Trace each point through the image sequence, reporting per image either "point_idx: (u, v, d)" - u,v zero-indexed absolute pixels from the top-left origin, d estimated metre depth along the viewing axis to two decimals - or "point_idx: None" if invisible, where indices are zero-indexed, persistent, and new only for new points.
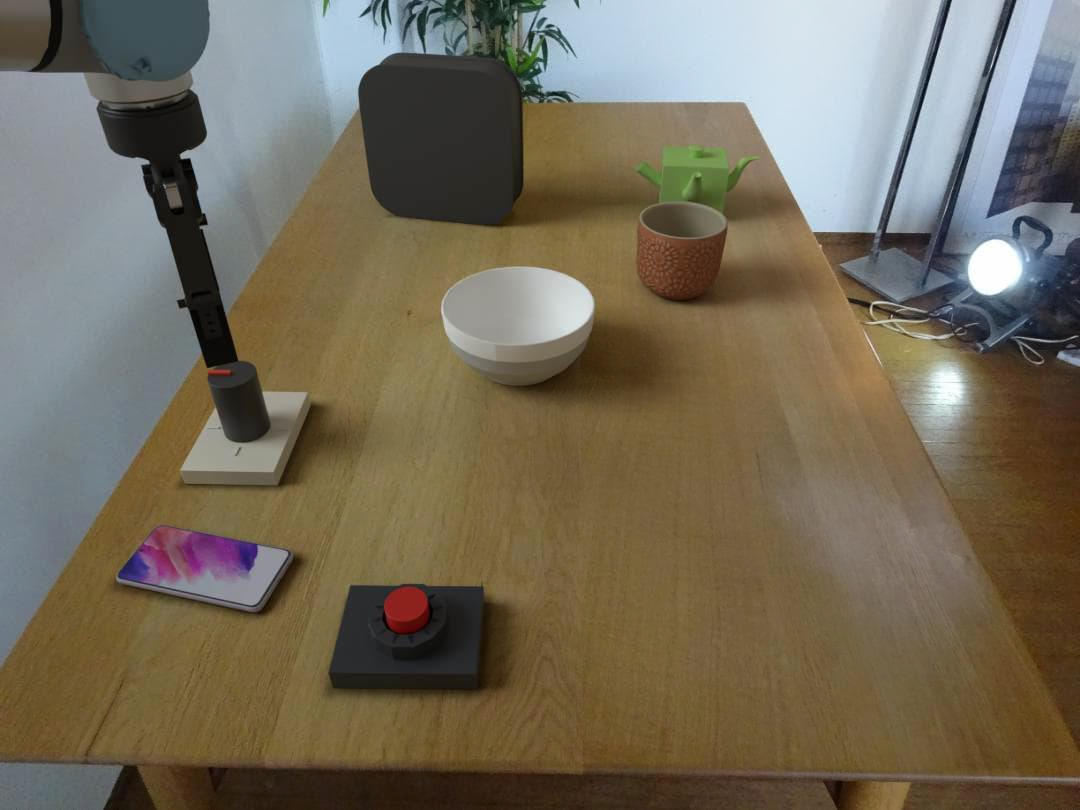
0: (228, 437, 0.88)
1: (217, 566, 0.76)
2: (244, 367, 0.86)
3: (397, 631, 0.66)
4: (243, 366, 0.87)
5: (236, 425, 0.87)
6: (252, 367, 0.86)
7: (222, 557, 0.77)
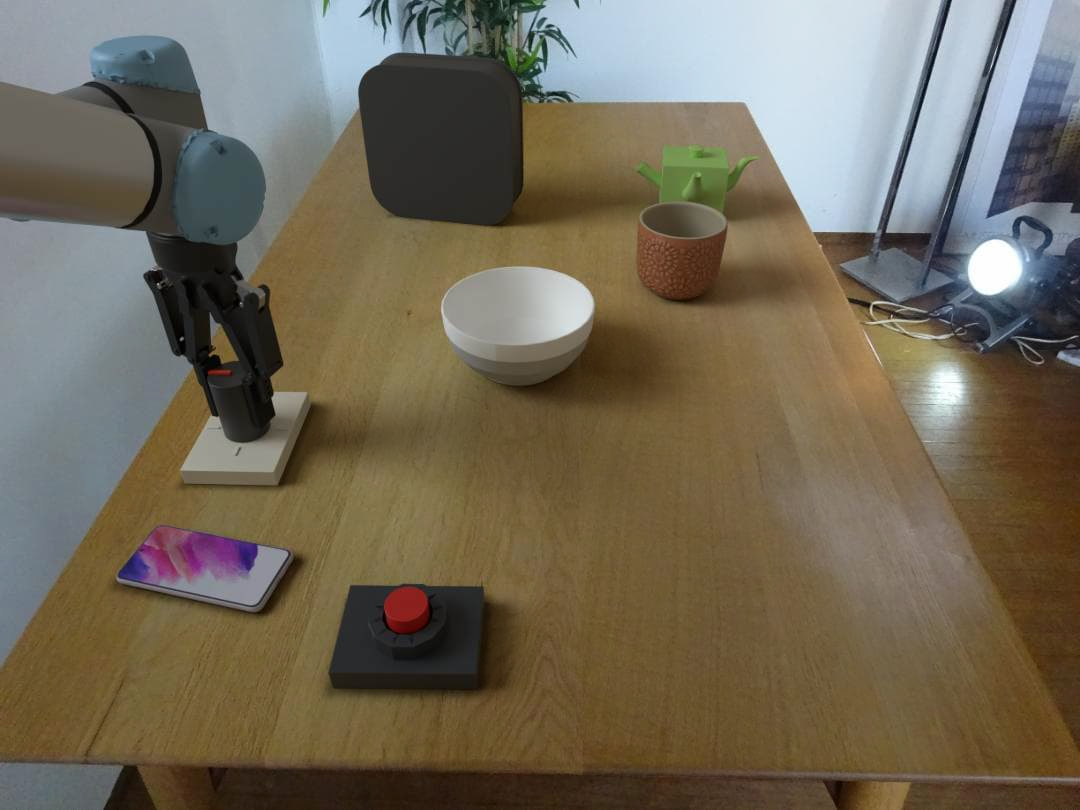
0: (228, 437, 0.88)
1: (217, 566, 0.76)
2: None
3: (397, 631, 0.66)
4: None
5: (236, 425, 0.87)
6: None
7: (222, 557, 0.77)
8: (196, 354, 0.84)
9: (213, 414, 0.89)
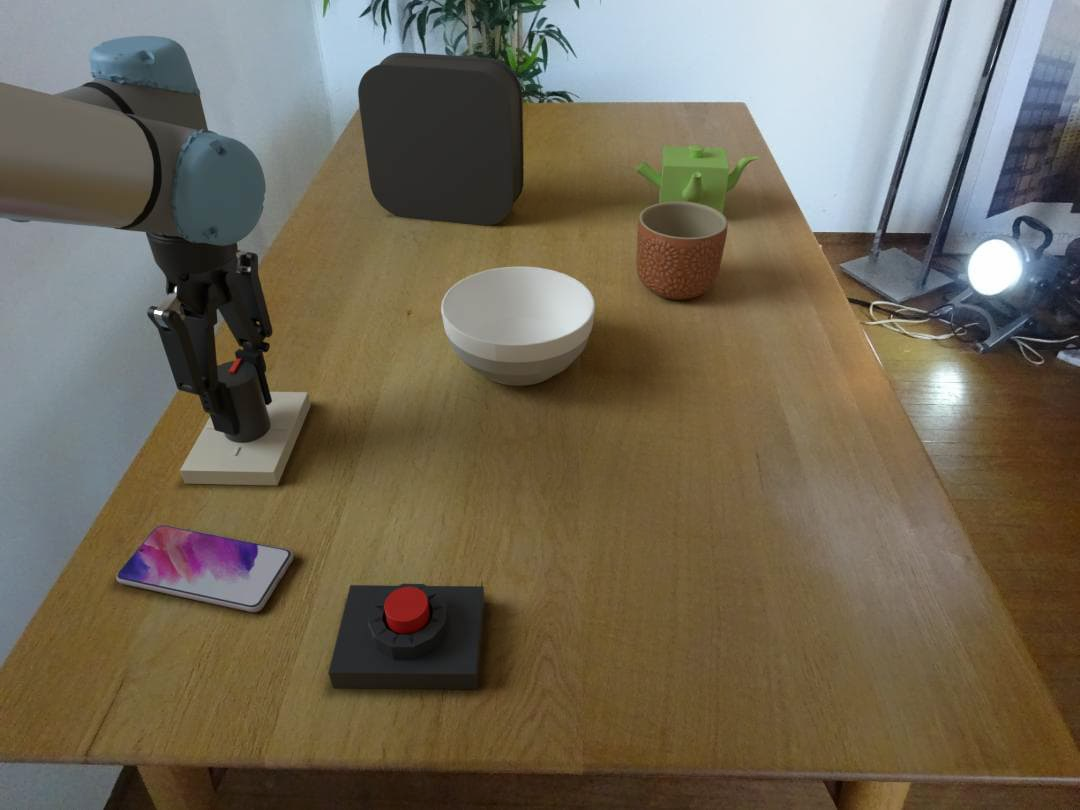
0: None
1: (217, 566, 0.76)
2: (239, 379, 0.85)
3: (397, 631, 0.66)
4: (242, 378, 0.85)
5: None
6: (237, 384, 0.84)
7: (222, 557, 0.77)
8: (236, 338, 0.87)
9: None
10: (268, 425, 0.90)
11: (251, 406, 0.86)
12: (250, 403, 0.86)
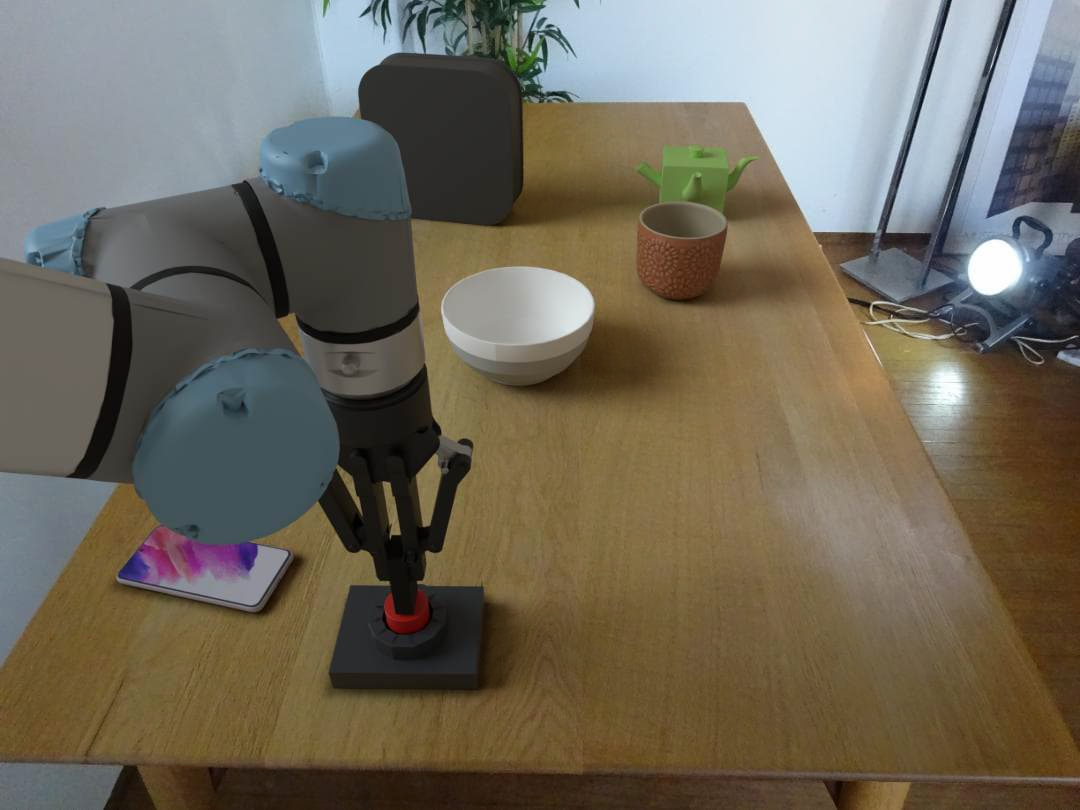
0: None
1: (217, 566, 0.76)
2: None
3: (397, 631, 0.66)
4: None
5: None
6: None
7: (222, 557, 0.77)
8: None
9: None
10: None
11: None
12: None
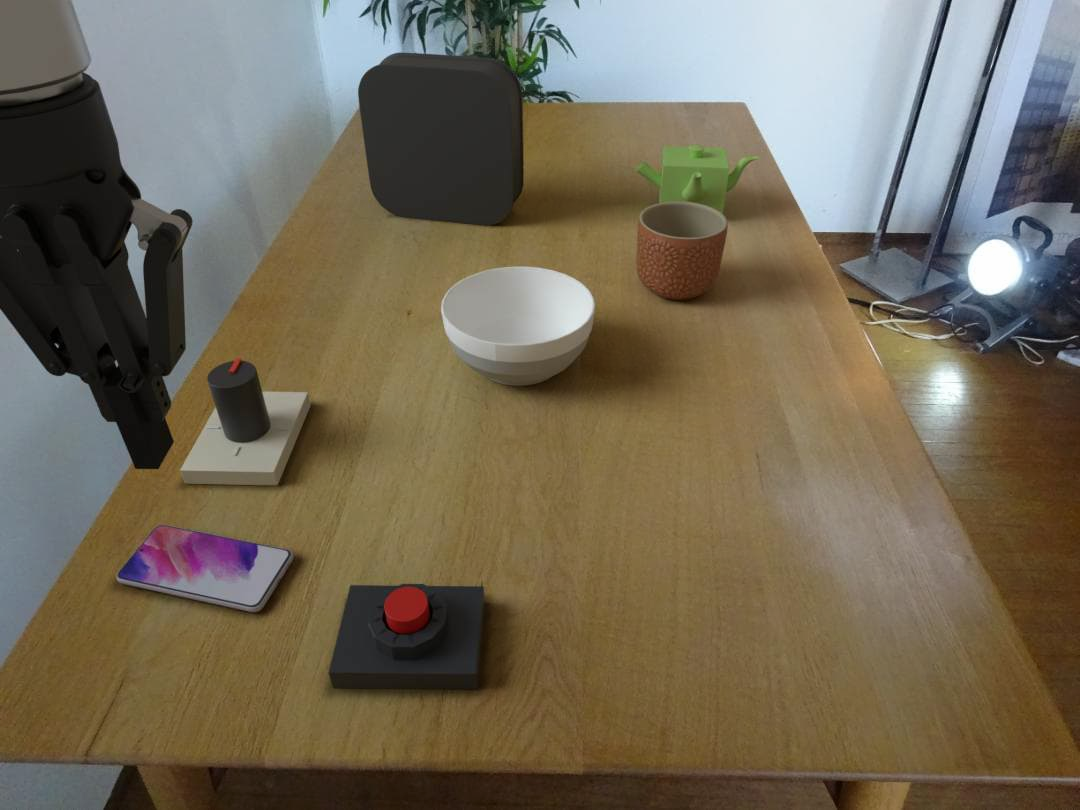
0: None
1: (217, 566, 0.76)
2: (239, 379, 0.85)
3: (397, 631, 0.66)
4: (242, 378, 0.85)
5: None
6: (237, 384, 0.84)
7: (222, 557, 0.77)
8: None
9: None
10: (268, 425, 0.90)
11: (251, 406, 0.86)
12: (250, 403, 0.86)
